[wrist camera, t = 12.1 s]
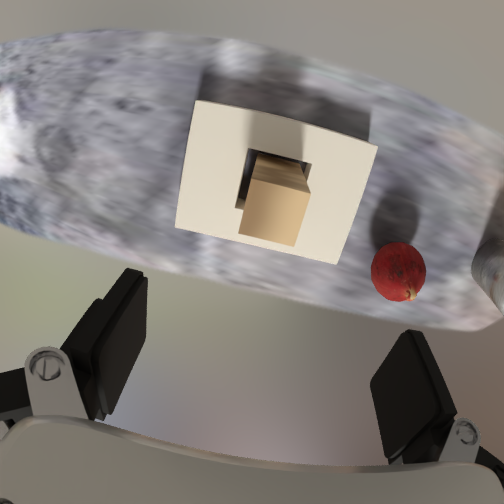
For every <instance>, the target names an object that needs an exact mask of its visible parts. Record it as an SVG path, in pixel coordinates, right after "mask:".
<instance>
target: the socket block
mask: <svg viewBox="0 0 504 504" xmlns="http://www.w3.org/2000/svg"><path fill="white" fill-rule="evenodd" d="M249 148H251V149H255V150H259V151H264V152H268V153H272V154H276V155H280V156H284V157H288V158H292V159H296V160H300V161H303V162H307V165H306V168H305V172H304V177H305V179H306V182H307V184H308V187H309V190H310V192H311V196H310V199H309V202H308V205H307V208H306V212H305V215H304V218H303V221H302V224H301V227H300V230H299V233H298V237H297V240H296V243H295V246H294V247H292V246H288V245H284V244H280V243H276V242H272V241H267V240H263V239H259V238H255V237H251V236H247V235H242V234H238V231H239V227H240V223H241V219H242V215H243V211H244V206H245V202H246V200H245V199H241V198H238V196H239V191H240V187H241V182H242V178H243V173H244V169H245V165H246V160H247V156H248V152H249ZM377 148H378V147H377V146H376V145H374V144H372V143H370V142H367V141H364V140H361V139H358V138H355V137H352V136H349V135H346V134H343V133H340V132H337V131H333V130H330V129H327V128H323V127H320V126H316V125H313V124H309V123H306V122H302V121H298V120H294V119H291V118H287V117H283V116H279V115H274V114H270V113H266V112H262V111H257V110H253V109H248V108H243V107H238V106H233V105H228V104H223V103H217V102H212V101H206V100H196V102H195V107H194V112H193V117H192V122H191V127H190V133H189V138H188V144H187V149H186V155H185V161H184V167H183V173H182V180H181V186H180V193H179V200H178V207H177V214H176V222H175V227H176V228H180V229H185V230H189V231H194V232H198V233H202V234H207V235H211V236H216V237H220V238H224V239H229V240H233V241H237V242H242V243H246V244H250V245H255V246H259V247H263V248H268V249H272V250H276V251H280V252H285V253H289V254H293V255H298V256H302V257H306V258H310V259H315V260H319V261H323V262H327V263H332V264H336V265H337V262H338V260H339V257H340V255H341V252H342V250H343V247H344V244H345V242H346V239H347V236H348V234H349V231H350V228H351V226H352V223H353V220H354V217H355V214H356V212H357V209H358V206H359V203H360V200H361V197H362V194H363V192H364V189H365V186H366V183H367V180H368V177H369V174H370V170H371V167H372V164H373V161H374V158H375V155H376V152H377Z"/></svg>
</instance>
